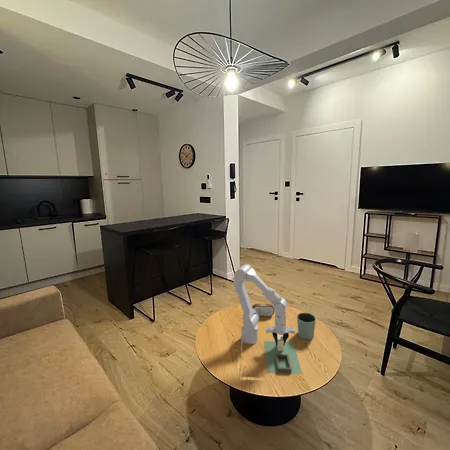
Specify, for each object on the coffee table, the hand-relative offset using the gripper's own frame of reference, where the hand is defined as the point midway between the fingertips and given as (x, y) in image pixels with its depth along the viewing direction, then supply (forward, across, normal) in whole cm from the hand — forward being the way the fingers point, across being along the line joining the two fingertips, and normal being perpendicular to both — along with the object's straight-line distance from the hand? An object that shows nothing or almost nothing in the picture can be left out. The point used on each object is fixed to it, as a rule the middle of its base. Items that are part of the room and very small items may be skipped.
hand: (280, 344), depth 130 cm
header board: (+3, 0, -6) cm, 7 cm away
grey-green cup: (+3, +16, +12) cm, 20 cm away
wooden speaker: (+3, -7, +32) cm, 33 cm away
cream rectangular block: (+2, 0, 0) cm, 2 cm away
